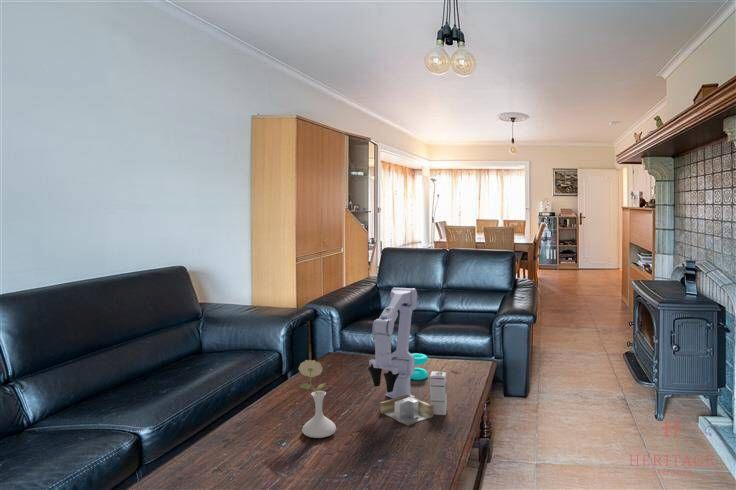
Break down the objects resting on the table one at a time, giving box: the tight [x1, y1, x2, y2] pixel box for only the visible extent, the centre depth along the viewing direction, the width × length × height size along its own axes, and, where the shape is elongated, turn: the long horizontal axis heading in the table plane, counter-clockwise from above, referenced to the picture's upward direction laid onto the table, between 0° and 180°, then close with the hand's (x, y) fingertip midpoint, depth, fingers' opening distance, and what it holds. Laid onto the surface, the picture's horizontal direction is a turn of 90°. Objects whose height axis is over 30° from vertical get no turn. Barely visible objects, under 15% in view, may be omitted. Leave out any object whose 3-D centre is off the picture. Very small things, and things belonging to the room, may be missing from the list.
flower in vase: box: [297, 359, 337, 439], centre depth 163 cm, size 13×11×25 cm
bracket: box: [394, 397, 418, 422], centre depth 174 cm, size 7×5×6 cm
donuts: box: [405, 352, 429, 381], centre depth 221 cm, size 10×10×10 cm
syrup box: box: [429, 370, 448, 416], centre depth 181 cm, size 6×6×14 cm
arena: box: [379, 395, 434, 427], centre depth 178 cm, size 15×13×4 cm
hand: (383, 388), depth 178 cm, fingers open, 7 cm apart
